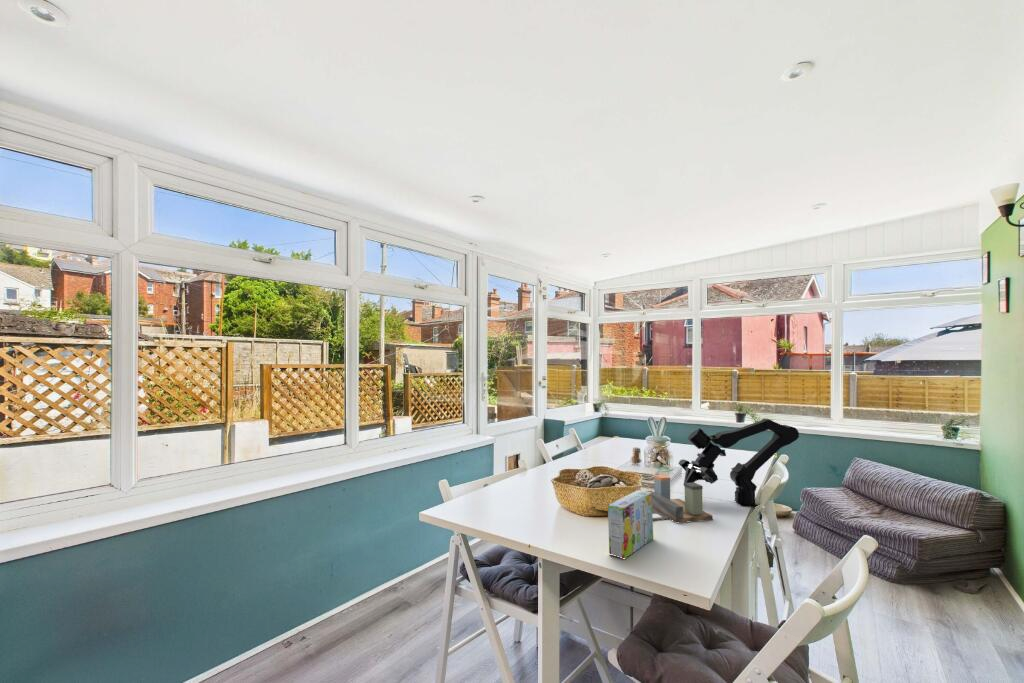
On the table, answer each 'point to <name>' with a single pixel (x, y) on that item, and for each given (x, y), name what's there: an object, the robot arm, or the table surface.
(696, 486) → the tall green block
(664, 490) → the orange-capped grey pillar
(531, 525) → the table surface
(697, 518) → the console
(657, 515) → the card
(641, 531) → the snack box
